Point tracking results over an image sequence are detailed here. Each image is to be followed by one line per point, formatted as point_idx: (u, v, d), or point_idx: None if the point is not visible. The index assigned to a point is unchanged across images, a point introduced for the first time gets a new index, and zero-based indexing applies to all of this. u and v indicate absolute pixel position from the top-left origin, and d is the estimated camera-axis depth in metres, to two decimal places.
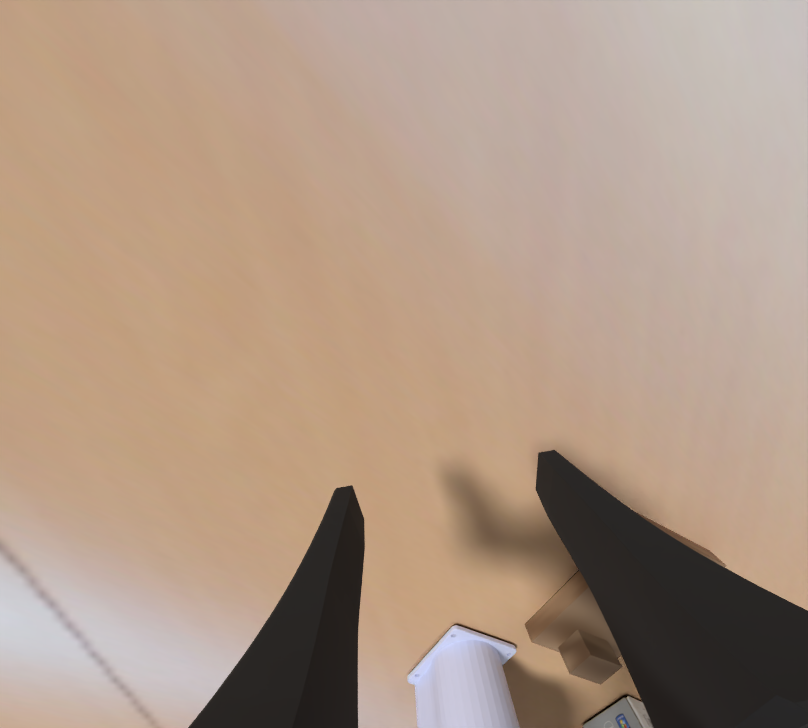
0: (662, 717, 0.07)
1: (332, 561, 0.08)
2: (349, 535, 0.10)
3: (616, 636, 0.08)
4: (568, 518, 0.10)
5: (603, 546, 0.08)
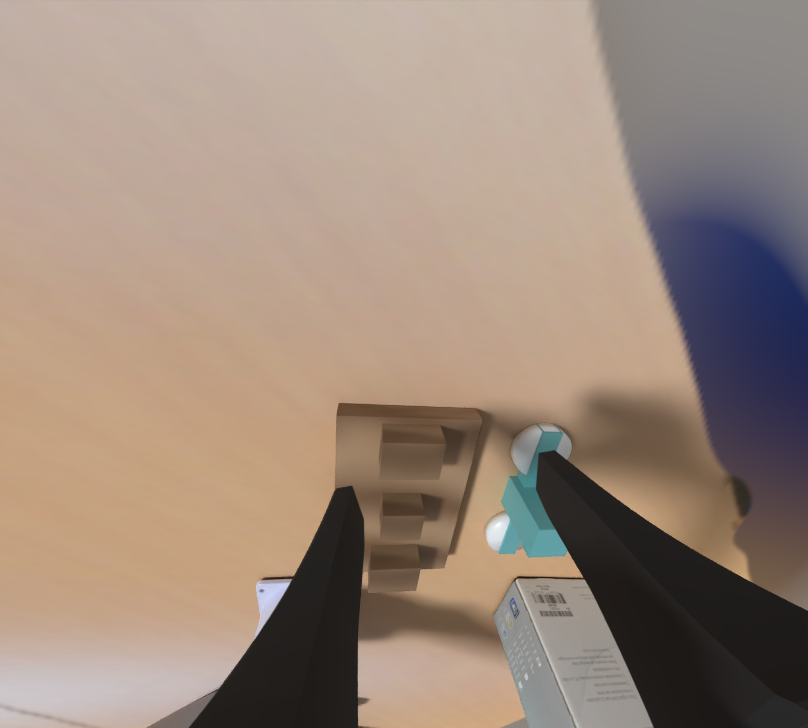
0: (662, 717, 0.07)
1: (332, 561, 0.08)
2: (349, 535, 0.10)
3: (617, 636, 0.08)
4: (568, 518, 0.10)
5: (603, 546, 0.08)
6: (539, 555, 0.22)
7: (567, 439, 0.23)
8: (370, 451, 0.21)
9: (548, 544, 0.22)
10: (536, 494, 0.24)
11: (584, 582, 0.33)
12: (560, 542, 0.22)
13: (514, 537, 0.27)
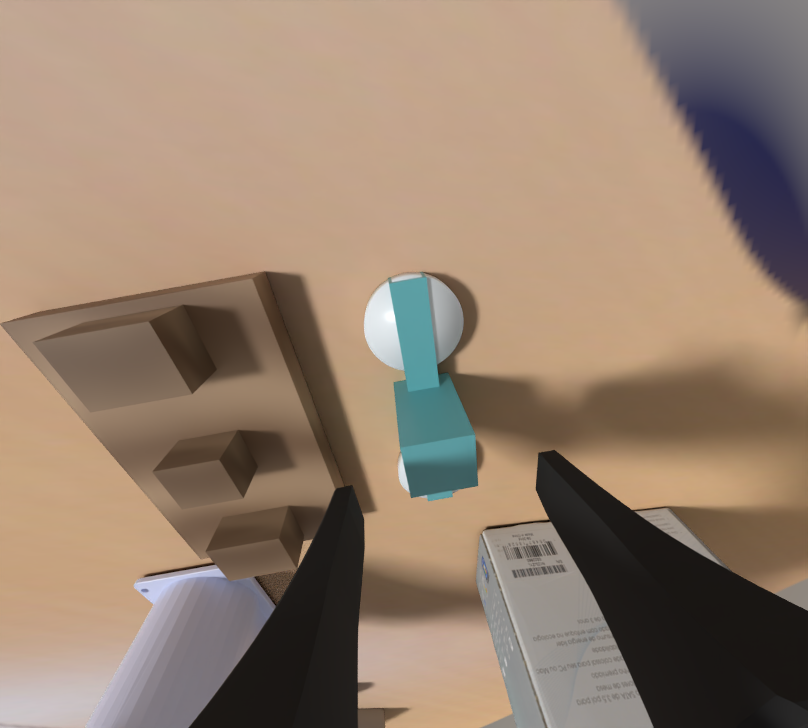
0: (661, 717, 0.07)
1: (332, 561, 0.08)
2: (349, 535, 0.10)
3: (616, 636, 0.08)
4: (568, 518, 0.10)
5: (603, 546, 0.08)
6: (429, 491, 0.13)
7: (444, 288, 0.13)
8: None
9: (434, 471, 0.12)
10: (424, 397, 0.14)
11: None
12: (454, 464, 0.12)
13: None
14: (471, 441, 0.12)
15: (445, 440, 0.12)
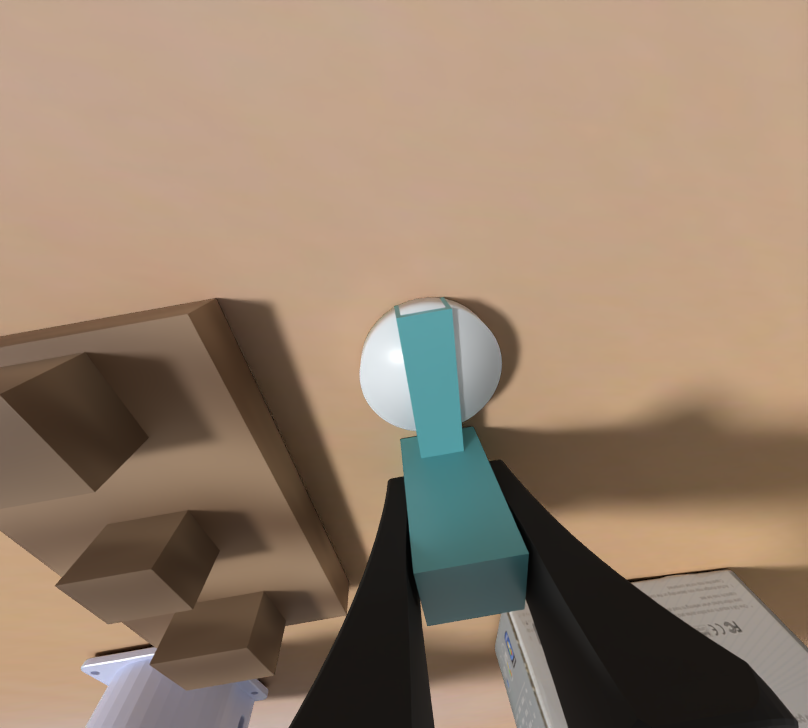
0: None
1: (405, 548, 0.08)
2: None
3: (544, 648, 0.08)
4: None
5: (529, 559, 0.08)
6: (455, 618, 0.09)
7: (477, 324, 0.09)
8: None
9: (463, 596, 0.08)
10: (444, 470, 0.10)
11: None
12: (494, 587, 0.08)
13: None
14: (522, 562, 0.08)
15: (483, 562, 0.08)
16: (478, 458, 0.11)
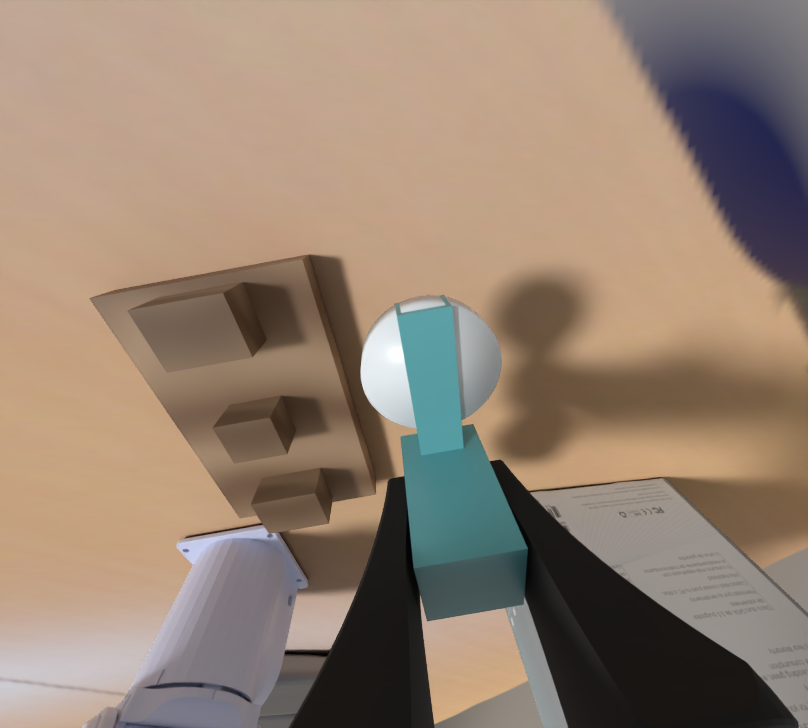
0: None
1: (405, 549, 0.08)
2: None
3: (544, 649, 0.08)
4: None
5: (530, 559, 0.08)
6: (454, 613, 0.09)
7: (477, 321, 0.09)
8: None
9: (462, 591, 0.08)
10: (444, 467, 0.10)
11: (591, 489, 0.25)
12: (493, 583, 0.08)
13: None
14: (521, 557, 0.08)
15: (482, 557, 0.08)
16: (478, 455, 0.11)
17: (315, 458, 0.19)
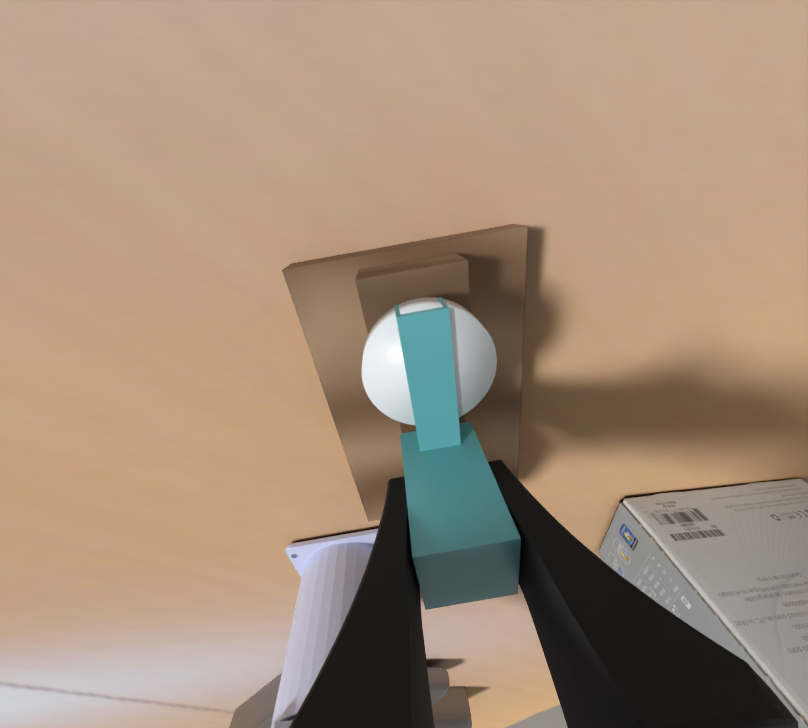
0: None
1: (405, 549, 0.08)
2: None
3: (544, 648, 0.08)
4: None
5: (529, 559, 0.08)
6: (451, 602, 0.09)
7: (473, 322, 0.09)
8: (356, 326, 0.13)
9: (459, 580, 0.09)
10: (442, 462, 0.11)
11: (727, 490, 0.23)
12: (488, 572, 0.09)
13: None
14: (514, 546, 0.08)
15: (478, 546, 0.08)
16: (474, 451, 0.11)
17: None
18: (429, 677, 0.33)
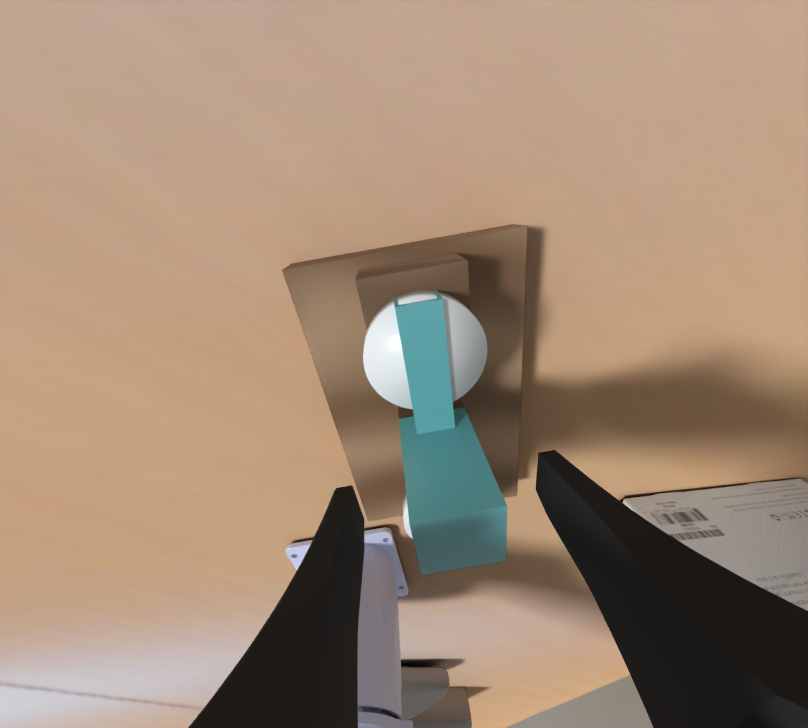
0: (662, 717, 0.07)
1: (332, 561, 0.08)
2: (349, 535, 0.10)
3: (616, 636, 0.08)
4: (568, 518, 0.10)
5: (603, 546, 0.08)
6: (445, 568, 0.10)
7: (464, 312, 0.10)
8: (356, 326, 0.13)
9: (452, 546, 0.10)
10: (437, 443, 0.12)
11: (727, 490, 0.23)
12: (478, 538, 0.10)
13: None
14: (501, 513, 0.09)
15: (468, 513, 0.09)
16: (467, 433, 0.12)
17: None
18: (429, 677, 0.33)
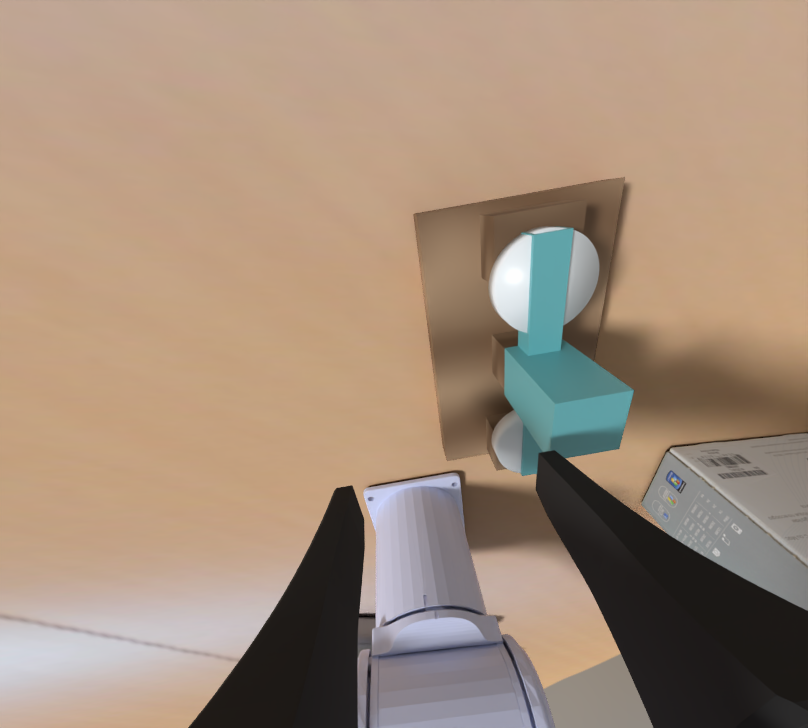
0: (662, 717, 0.07)
1: (332, 561, 0.08)
2: (349, 535, 0.10)
3: (616, 636, 0.08)
4: (568, 518, 0.10)
5: (603, 546, 0.08)
6: (569, 454, 0.12)
7: (586, 242, 0.12)
8: (469, 268, 0.15)
9: (581, 431, 0.12)
10: (550, 360, 0.14)
11: (765, 440, 0.25)
12: (603, 423, 0.12)
13: (538, 446, 0.17)
14: (628, 398, 0.11)
15: (602, 396, 0.11)
16: (574, 353, 0.14)
17: None
18: None
